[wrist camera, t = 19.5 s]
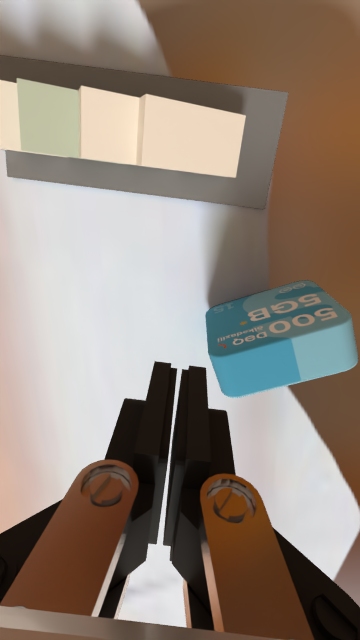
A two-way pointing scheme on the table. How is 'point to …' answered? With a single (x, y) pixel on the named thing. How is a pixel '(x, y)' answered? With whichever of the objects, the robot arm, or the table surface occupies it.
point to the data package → (279, 339)
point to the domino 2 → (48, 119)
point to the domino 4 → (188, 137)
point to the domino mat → (241, 191)
